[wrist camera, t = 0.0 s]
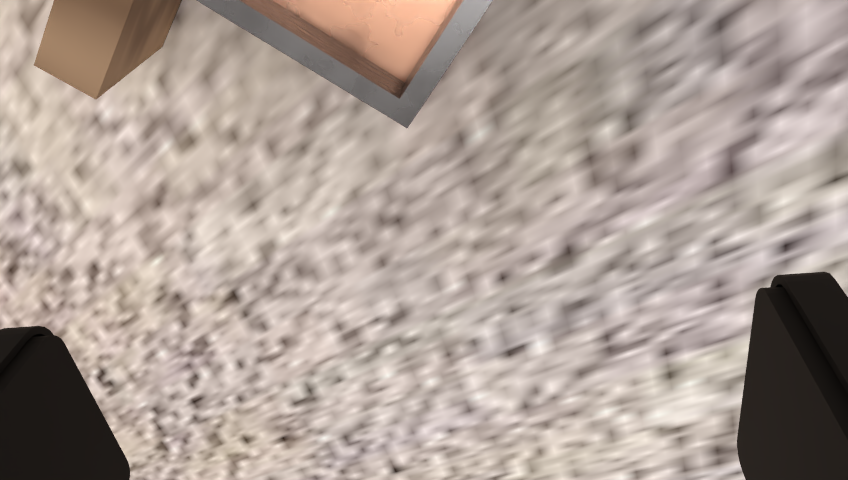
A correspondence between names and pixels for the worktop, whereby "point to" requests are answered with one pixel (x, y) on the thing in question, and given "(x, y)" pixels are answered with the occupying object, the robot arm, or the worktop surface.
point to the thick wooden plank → (102, 40)
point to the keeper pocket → (365, 42)
